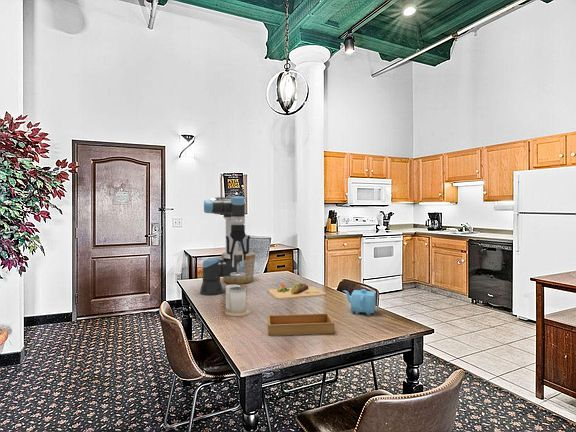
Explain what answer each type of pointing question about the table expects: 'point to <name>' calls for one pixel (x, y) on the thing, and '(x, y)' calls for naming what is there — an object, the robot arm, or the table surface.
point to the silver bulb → (237, 266)
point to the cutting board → (296, 292)
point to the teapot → (362, 301)
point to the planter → (243, 270)
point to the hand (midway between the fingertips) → (237, 266)
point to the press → (236, 302)
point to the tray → (300, 324)
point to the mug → (230, 287)
